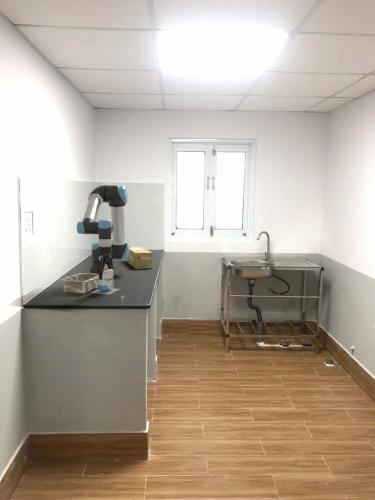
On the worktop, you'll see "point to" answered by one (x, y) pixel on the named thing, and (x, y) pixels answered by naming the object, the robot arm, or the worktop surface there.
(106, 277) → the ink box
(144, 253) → the soda box
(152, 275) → the worktop surface
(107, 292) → the mat
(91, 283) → the beige storage basket
